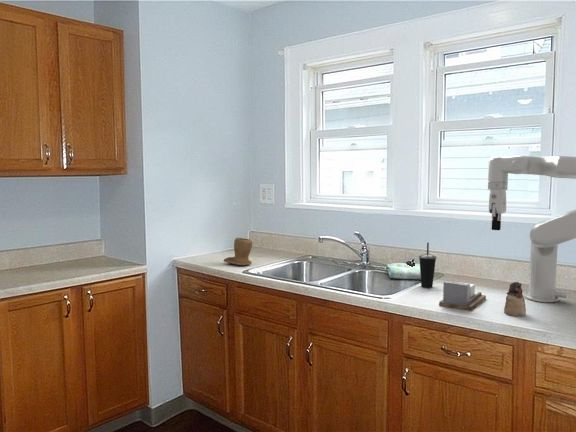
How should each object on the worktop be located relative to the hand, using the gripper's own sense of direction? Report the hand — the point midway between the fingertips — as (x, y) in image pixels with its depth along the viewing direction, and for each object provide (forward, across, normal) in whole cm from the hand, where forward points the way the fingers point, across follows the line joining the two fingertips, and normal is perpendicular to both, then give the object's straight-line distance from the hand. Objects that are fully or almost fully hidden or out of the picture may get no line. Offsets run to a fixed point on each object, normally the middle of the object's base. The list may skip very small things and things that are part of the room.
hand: (496, 229), depth 203 cm
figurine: (+27, -26, -14) cm, 40 cm away
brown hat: (+27, -18, +130) cm, 134 cm away
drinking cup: (+27, -6, +27) cm, 39 cm away
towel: (+28, +10, +44) cm, 53 cm away
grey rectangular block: (+26, -31, +6) cm, 40 cm away
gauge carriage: (+25, -22, +7) cm, 35 cm away
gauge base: (+27, -22, +6) cm, 35 cm away
